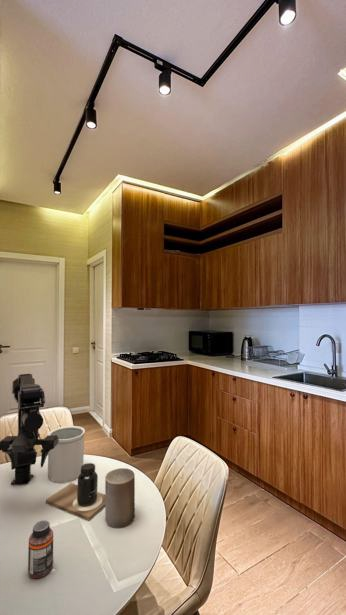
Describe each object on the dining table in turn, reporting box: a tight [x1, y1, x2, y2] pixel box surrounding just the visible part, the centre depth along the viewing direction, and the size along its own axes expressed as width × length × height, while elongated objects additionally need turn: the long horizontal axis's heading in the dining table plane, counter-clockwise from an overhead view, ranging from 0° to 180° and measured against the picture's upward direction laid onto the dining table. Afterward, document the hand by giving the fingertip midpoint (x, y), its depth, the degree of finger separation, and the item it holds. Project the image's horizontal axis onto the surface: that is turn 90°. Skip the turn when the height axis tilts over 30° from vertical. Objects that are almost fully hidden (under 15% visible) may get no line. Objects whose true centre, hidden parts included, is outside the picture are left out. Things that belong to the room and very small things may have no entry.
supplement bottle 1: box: [27, 519, 54, 579], centre depth 76 cm, size 6×6×11 cm
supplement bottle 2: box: [76, 462, 99, 507], centre depth 102 cm, size 7×7×12 cm
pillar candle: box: [104, 467, 136, 529], centre depth 96 cm, size 10×10×15 cm
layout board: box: [45, 482, 105, 522], centre depth 104 cm, size 20×12×1 cm, turn 64°
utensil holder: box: [47, 425, 86, 484], centre depth 122 cm, size 15×15×18 cm
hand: (28, 467), depth 102 cm, fingers open, 9 cm apart
